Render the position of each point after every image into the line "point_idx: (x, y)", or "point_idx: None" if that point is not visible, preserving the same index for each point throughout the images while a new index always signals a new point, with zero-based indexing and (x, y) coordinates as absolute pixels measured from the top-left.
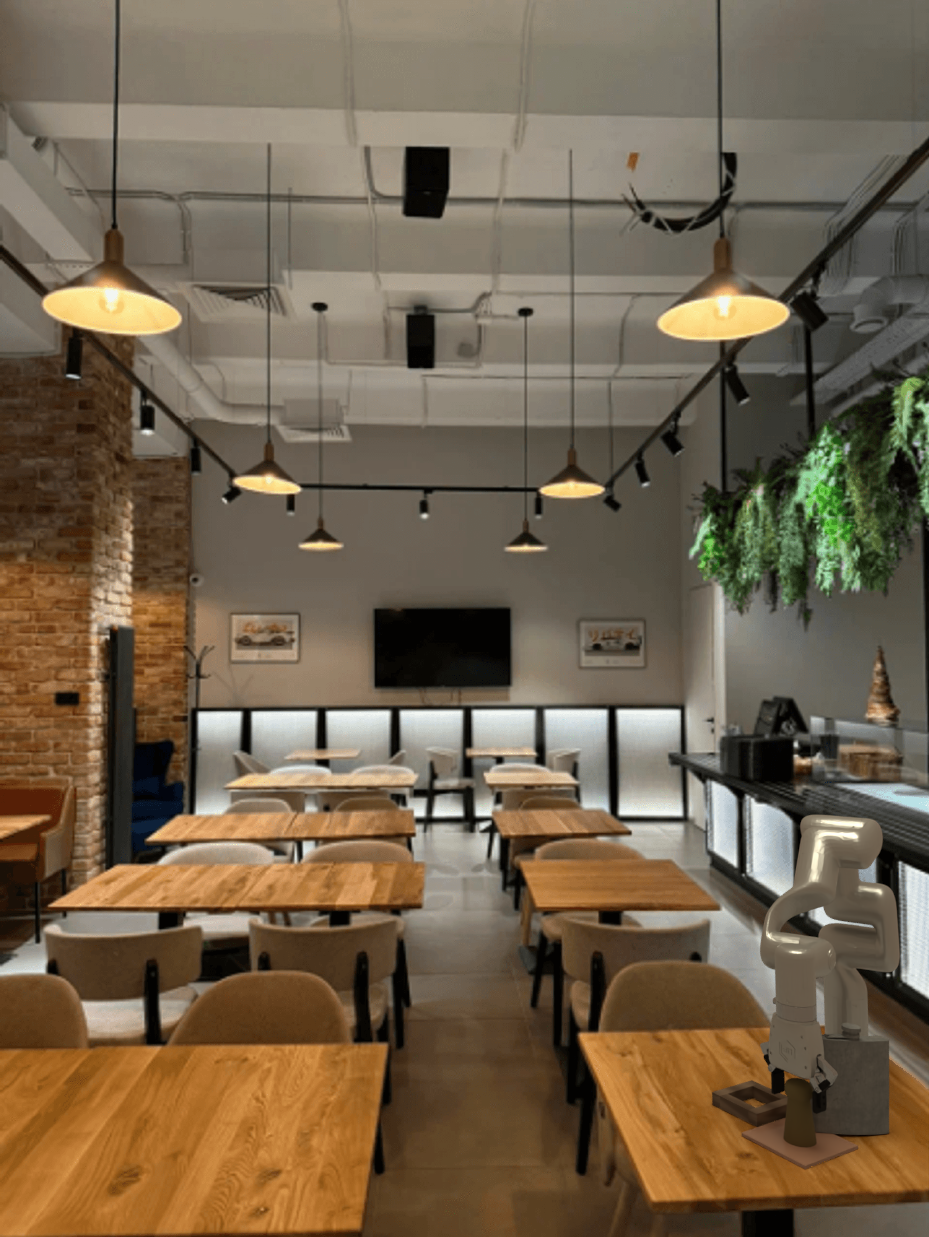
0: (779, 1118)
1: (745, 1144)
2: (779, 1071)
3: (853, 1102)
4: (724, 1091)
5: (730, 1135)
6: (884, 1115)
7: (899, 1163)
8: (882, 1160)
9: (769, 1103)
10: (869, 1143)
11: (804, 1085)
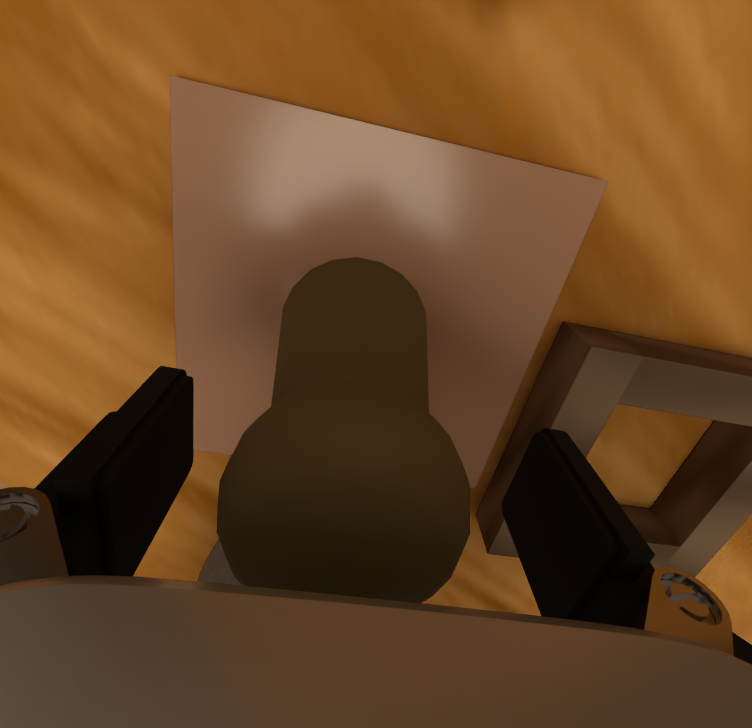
0: (510, 441)
1: (550, 97)
2: (587, 615)
3: None
4: None
5: (653, 136)
6: None
7: (27, 444)
8: (72, 424)
9: None
10: (190, 495)
11: (245, 536)
